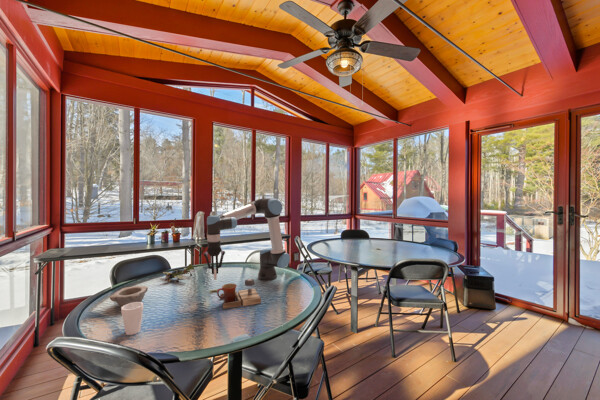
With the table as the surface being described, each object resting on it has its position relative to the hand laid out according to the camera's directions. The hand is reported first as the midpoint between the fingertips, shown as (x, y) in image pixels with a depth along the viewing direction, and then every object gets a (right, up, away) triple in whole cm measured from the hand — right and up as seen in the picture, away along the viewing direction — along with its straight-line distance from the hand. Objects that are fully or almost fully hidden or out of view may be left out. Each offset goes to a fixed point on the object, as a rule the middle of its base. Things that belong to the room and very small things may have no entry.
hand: (215, 279), depth 165 cm
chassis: (+14, -15, +6) cm, 22 cm away
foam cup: (-31, -17, -31) cm, 47 cm away
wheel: (+20, -6, +8) cm, 22 cm away
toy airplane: (-44, -15, +50) cm, 68 cm away
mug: (+6, -16, +3) cm, 17 cm away
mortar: (-53, -17, +1) cm, 55 cm away
